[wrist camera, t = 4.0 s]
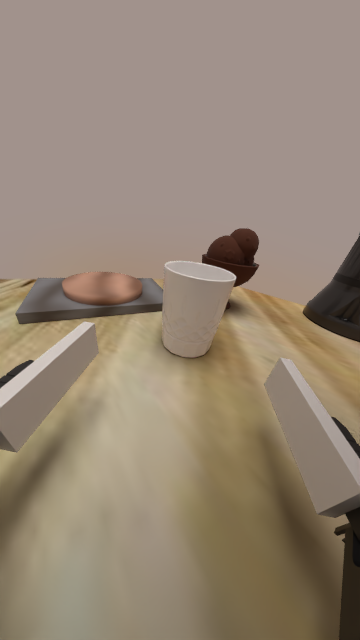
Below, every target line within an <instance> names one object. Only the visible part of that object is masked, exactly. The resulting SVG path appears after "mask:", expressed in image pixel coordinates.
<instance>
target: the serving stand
mask: <svg viewBox="0 0 360 640" xmlns="http://www.w3.org/2000/svg"><path fill="white" fill-rule="evenodd" d="M162 304H163V289H162V288H161V287H160V286H159V285H158V284H157V283H156V282H155V281H154V280H153V279H152V278H134V277H132V276H129V275H125V274H119V273H112V272H111V273H110V272H88V273H81V274H76V275H73V276H70V277H68V278H38V279H37V281H36V282H35V284H34V285H33V287H32V288H31V290H30V292H29V293H28V295H27V296H26V298H25V299H24V301H23V302H22V304H21V306H20V307H19V309H18V310H17V312H16V313H15V314H16V316H17V319H18V321H19V324H23V323H34V322H45V321H55V320H66V319H77V318H88V317H99V316H110V315H121V314H132V313H143V312H154V311H162Z"/></svg>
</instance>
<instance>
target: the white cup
mask: <svg viewBox="0 0 360 640" xmlns="http://www.w3.org/2000/svg"><path fill="white" fill-rule="evenodd" d="M235 281H236V276H235V275H234V274H233V273H231V272H229V271H227V270H225V269H222V268H219V267H216V266H212V265H207V264H203V263H196V262H188V261H171V262H167V263H166V264H165V267H164V286H163V304H162V341H163V345H164V346H165V347H166V348H167V349H168V350H169V351H170V352H171V353H174V354H176V355H179V356H181V357H191V358H195V357H198V356H202V355H204V354H205V353H206V352H207V351H208V350H209V348H210V346H211V343H212V340H213V337H214V335H215V333H216V331H217V329H218V326H219V323H220V321H221V319H222V316H223V313H224V311H225V308H226V305H227V302H228V300H229V297H230V294H231V291H232V289H233V286H234V283H235Z"/></svg>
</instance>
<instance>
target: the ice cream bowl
mask: <svg viewBox="0 0 360 640" xmlns="http://www.w3.org/2000/svg"><path fill="white" fill-rule="evenodd" d="M258 245H259V240H258V236H257V235H256V233H255V232H254V231H252V230H250V229H237V230H235V231H234V232H233V233H232V234H231V235H230V236H223V237H220V238H218V239H216V240H215V241H214V242H213V243H212V244H211V245H210V247H209V249H208V252H207V254H204V255H202V263H203V264H207V265H212V266H216V267H219V268H222V269H225V270H227V271H229V272H231V273H233V274H234V275H235V276H236V281H235V283H234V286H233V287H236V286H239V285H242V284H243V283H245V282H247V281H248V280H249V279H250V278H251V277H252V276H253V275H254V273H255V272H256V270H257V269H258V267H259V265H258V264H256V263H254V255H255V253H256V251H257V249H258ZM229 308H230V303H229V302H227V305H226V308H225V309H229Z"/></svg>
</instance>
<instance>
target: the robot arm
mask: <svg viewBox="0 0 360 640" xmlns="http://www.w3.org/2000/svg"><path fill="white" fill-rule="evenodd" d="M359 235H360V233H359ZM303 312H304V314H305V315H306V316H307V317H308V318H309V319H311V320H312V321H314V322H315V323H317V324H319V325H321V326H323V327H324V328H327V329H329V330H331V331H333V332H335V333H338V334H340V335H343V336H346V337H349V338H351V339H355V340H358V341H360V236H359V238H358V239H357V241H356V242H355V244H354V246H353V247H352V249H351V250H350V252H349V254H348V255H347V257H346V258H345V260H344V262H343V263H342V265H341V266H340V268H339V269H338V271H337V273H336V274H335V276H334V278H333V279H332V281H331V282H330V283H329V284H328V285H327V286H326V287H325V288H324V289H323V290H322V291H321V292H319V293H318V294H317V295H316V296H315V297H314V298H313V299H312V300H311V301H309V302H308V303H307V305H306V307H305V308H304V310H303ZM98 353H99V352H98V345H97V337H96V330H95V323H90V322H83V323H82V324H80V325H79V326H78V327H77V328H75V329H74V330H73V331H72V332H70V333H69V334H68V335H67V336H65V337H64V338H63V339H62V340H60V341H59V342H58V343H57V344H55V345H54V346H53V347H52V348H50V349H49V350H48V351H47V352H45V353H44V354H43V355H42V356H40V357H39V358H38V359H37V360H35V361H33V360H29V361H26V362H24V363H22V364H20V365H18V366H17V367H15V368H14V369H13V370H11V371H10V372H9V373H7V375H6V376H3V377H2V378H1V379H0V449H2V450H7V451H12V452H18V451H19V450H20V448H21V447H22V446H23V445H24V443H25V442H26V441H27V440H28V439H29V437H30V436H31V435H32V434H33V432H34V431H35V430H36V429H37V428H38V426H39V425H40V424H41V423H42V421H43V420H44V419H45V418H46V417H47V415H48V414H49V413H50V412H51V410H52V409H53V408H54V407H55V406H56V404H57V403H58V402H59V401H60V399H61V398H62V397H63V396H64V395H65V393H66V392H67V391H68V390H69V388H70V387H71V386H72V385H73V384H74V382H75V381H76V380H77V379H78V377H79V376H80V375H81V374H82V373H83V371H84V370H85V369H86V368H87V366H88V365H89V364H90V363H91V362H92V360H93V359H94V358H95V357H96V355H97V354H98ZM264 385H265V388H266V390H267V393H268V395H269V397H270V400H271V402H272V405H273V407H274V410H275V412H276V415H277V417H278V420H279V422H280V424H281V427H282V429H283V432H284V434H285V437H286V439H287V442H288V444H289V446H290V449H291V451H292V454H293V456H294V459H295V461H296V464H297V466H298V468H299V471H300V473H301V476H302V478H303V481H304V483H305V486H306V488H307V490H308V493H309V495H310V498H311V500H312V503H313V505H314V508H315V510H316V513H317V514H319V515H324V516H329V517H334V518H336V517H339V516H341V515H343V514H346V516H347V518H348V520H349V522H350V523H348V524H345V525H343V526H340V527H337V528H336V529H335V531H334V533H335V534H336V535H337V536H338V535H341V534H344V533H345V538H344V539H343V540H342V541H343V542H344V543H345V548H344V564H343V581H342V598H341V614H340V631H339V640H360V446H359V445H358V444H357V443H356V441H355V439H354V438H353V437H352V435H351V434H350V432H349V431H348V430H347V428H345V427H344V426H343V425H342V424H341V423H340V422H339V421H338V420H337V419H336V418H334V417H330V415H329V414H328V412H327V411H326V409H325V408H324V406H323V405H322V404H321V402H320V401H319V399H318V398H317V396H316V395H315V393H314V392H313V391H312V389H311V388H310V386H309V385H308V383H307V382H306V380H305V379H304V378H303V376H302V375H301V373H300V372H299V370H298V369H297V367H296V366H295V365H294V363H293V362H292V360H290V359H285V358H279V360H278V362H277V363H276V365H275V367H274V368H273V370H272V372H271V373H270V375H269V377H268V378H267V380H266V382H265V383H264Z"/></svg>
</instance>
